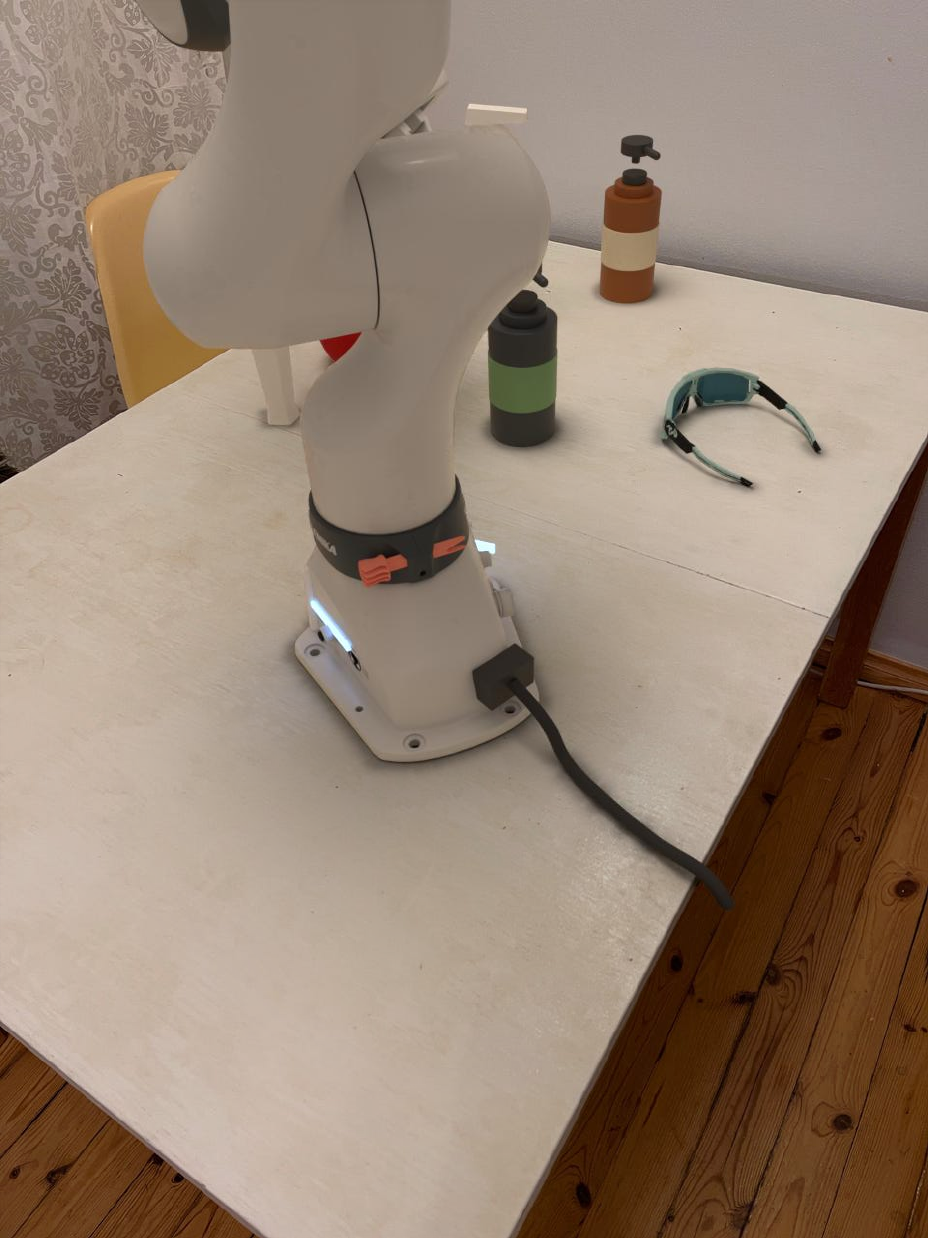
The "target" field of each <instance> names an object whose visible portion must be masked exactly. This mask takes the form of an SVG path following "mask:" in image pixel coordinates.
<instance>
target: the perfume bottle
mask: <svg viewBox="0 0 928 1238" xmlns="http://www.w3.org/2000/svg"><path fill="white" fill-rule="evenodd" d="M251 352H252V356H253V359H254V364H255V367H256V370H257V375H258V378H259V381H260V384H261V388H262V392H263V396H264V399H265V403H266V406H267V407H266V418H267V424H268V425H270V426H290V425H292V424H293V423H294V422H295V421H296V420H297V419H298V418H300V414H301V411H300V410H299V408H298V406H297V404H296V402H295V392H294V384H293V383H294V382H293V372H292V371H293V370H292V363H291V352H290V346H288V347H283V348H278V349H251Z"/></svg>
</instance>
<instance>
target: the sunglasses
mask: <svg viewBox="0 0 928 1238" xmlns="http://www.w3.org/2000/svg"><path fill="white" fill-rule="evenodd" d="M759 379H760V376H758V375H756V374H754V373H752V372H749V371H745V370H741V369H736V368H731V367H730V368H729V367H715V366H714V367H708V368H706V367H703V368H700V369H697V370H696V369H695V370H693V371H691V372H688V373H687V374H685V375H683V376H682V377H681V379H680V380H678V382H676V384H675V385H674V387H673V388H672V389H671V391H670V392H669V395H668V397H667V401H666V404H665V405H666V406H665V413H664V419H663V425H662V431H661V436H660V439H661V440H668V438H669V439H670V441H672V443H674V444H675V445H676V446H677V447H678V448H679V449H680V450H681V451H683V452H684V454H685V455H688V454H692V455H694V457H695V458H696V459H697V460H698V461H699V462H700V463H702V464H703V465H705V466H706V467H707V468H709V469H711V470H712V471H714V472H716V473H717V474H719V475H721V476H723V477H726V478H727V479H730V480H732V481H735V482H737V483H739V484H741V485H743V486H745V487H747V488H749V487H751V486H753V485H754V482H753V481H750V480H749V479H747V478H745V477H743V476H741V475H739V474H736V473H734V472H732V471H730V470H728V469H726V468H725V467H722V466H721V465H719V464H717V463H716V462H715V461H713V460H711V459H710V458H708V457H707V456H706V455H705V454H703V453H702V452H701V451H700V450H699V448H698V446H697V445H695V444H694V443H692V442H691V441H690V440H689V439H688V438H687V437H686V436H685V435H684V434H683V433H682V432H681V431H680V430H679V429H678V428H677V427H676V426H677V424H676V423H675V421H676V419H677V417H678V415H679V414H681V415H685V414H687V413H688V410H689V406H690V398H691V397H692V399H693V402H694V403H695V405H696V407H697V408H698V407H699V408H701V407H702V406H704V407H707V408H708V407H714V406H721V405H745V404H747V403H748V402H751V400H752V399H753V398H754V396H755V395H758V396H760V397H762V398H764V399H765V401H767V402H768V403H770V404H771V405H772V406H773V407H775V408H776V409H778V410H779V411H781V410H783V411H785V412H786V413H788V414H789V415H791V416H792V417H793V418H794V419H795V420H796V421H797V423H798V424H799V425H800V426H801V428H802V429H803V431H804V432H805V434H806V436H807V437H808V440H809V442H810V444H811V446H812V448H813V450H814V451H815V453H818V452H820V451H822V447H820V445H819V443H818V442H817V440H816V437H815V433H814V432H813V430H812V428H811V427H810V425H809V424H808V422H807V421H806V419H805V417H804V416H803V415H802V414H801V413H800V412H799V411H798V409H797V408H796V407H794V406H793V405H792V404H790V403H789V402H788V401H786V400H785V399H784V398H783V397H782V396H781V395H779V394H778V393H777V392H776V391H775V390H774V389H773V388H771V387H770V386H769V385H767V384H766V383H765V382H763V381H762V380H759Z"/></svg>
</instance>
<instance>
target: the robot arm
mask: <svg viewBox="0 0 928 1238" xmlns="http://www.w3.org/2000/svg"><path fill="white" fill-rule="evenodd" d="M134 1H135V3H136V5H137V6H138V8H139V9H140V11H141V12H142V14H143V15H144V17H145V18H146V19H147V20H148V22H149V23H150V24H151V25H152V27H153V28H154V29H155V30H156V31H157V32H158V33H159V34H160V35H161V36H162V37H163V38H164V39H166V41H168V42H169V43H171V44H172V45H174V46H176V47H177V48H182V49H186V50H191V51H195V52H211V53H218V52H219V53H221V52H222V53H223V52H225V51H226V50H227V49H228V48H229V46H230V60H229V61H230V63H229V69H228V77H227V83H226V87H225V90H224V95H223V98H222V100H221V104H220V107H219V110H218V113H217V116H216V117H215V120H214V121H213V124H212V126H211V128H210V130H209V132H208V134H207V136H206V137H205V140H204V141H203V143H202V144H201V146H200V147H199V149H198V150H197V152H196V153H195V155H194V156H193V157H192V158H191V159H190V160H189V162H188V163H187V164H186V166H185V167H184V168H183V169H182V170H181V171H180V172H179V173H178V174H177V175H176V176H175V177H174V178H173V179H172V180H170V181H169V182H168V183H167V184H165V185H164V186H163V187H162V188H161V190H160V191H159V192H158V194H157V196H155V197H156V198H155V199H154V201H153V203H152V205H151V207H150V210H149V213H148V215H147V218H146V222H145V226H144V227H145V228H144V232H143V242H142V255H143V265H144V269H145V270H144V271H145V274H146V279H147V281H148V284H149V287H150V290H151V292H152V295H153V297H154V299H155V301H156V302H157V304H158V306H159V308H160V310H161V311H162V312H163V314H164V315H165V316H166V318H167V319H168V320H169V322H170V323H171V324H172V325H173V326H174V327H175V328H176V329H177V331H179V332H180V333H181V334H182V335H183V336H184V337H186V338H187V339H188V340H190V341H191V342H193V343H194V344H195V345H197V346H199V347H200V348H202V349H208V350H209V349H210V350H211V349H212V350H213V349H216V350H252V349H278V348H283V347H288V346H289V347H292V346H297V345H298V346H299V345H303V344H307V343H312V342H317V341H319V340H323V339H328V338H333V337H338V336H343V335H348V334H353V333H358V332H362V333H361V335H360V336H359V338H358V339H357V341H356V342H355V344H354V345H353V346H352V347H351V348H350V349H349V350H348V352H346V353H345V354H344V355H343V356H342V357H341V358H339V359H338V360H337V361H336V362H335V361H333V363H332V364H330V365H329V366H328V367H326V369H324V371H322V372H321V373H320V374H319V375H318V376H317V377H316V379H315V380H314V381H313V383H312V384H311V386H310V388H309V389H308V392H307V394H306V396H305V398H304V400H303V403H302V406H301V410H300V416H299V424H298V425H299V431H300V436H301V441H302V447H303V452H304V458H305V464H306V468H307V474H308V479H309V486H310V490H309V493H308V521H309V524H310V529H311V531H312V535H313V539H314V543H315V545H314V548H313V550H312V552H311V554H310V556H309V558H308V560H307V561H306V563H305V564H304V567H303V569H302V570H301V575H302V582H303V590H304V597H305V604H306V610H307V615H308V616H307V617H308V624H309V626H308V627H307V628H306V629H305V630H304V631H303V632H301V634H300V635H299V636H298V637H297V639H296V640H295V643H294V654H295V656H296V659H298V661H299V662H300V663H301V665H302V666H303V667H304V668H305V670H306V671H307V672H308V674H309V675H310V676H311V677H312V678H313V680H314V681H315V683H316V684H317V685H318V686H319V687H320V688H321V690H322V691H323V692H324V693H325V694H326V696H327V698H328V699H329V700H330V701H331V702H332V703H333V705H334V706H335V707H336V708H337V709H338V711H339V712H340V713H341V715H342V716H343V717H344V718H345V720H346V721H347V722H348V724H349V725H350V726H351V727H352V728H353V729H354V731H355V733H357V735H358V737H360V738H361V740H362V741H363V742H364V743H365V744H366V746H367V747H368V748H369V750H370V751H371V752H372V753H373V754H374V755H375V756H376V757H377V758H378V759H380V760H381V761H385V762H386V761H387V762H399V763H404V762H405V763H408V762H409V763H410V762H420V761H427V760H432V759H439V758H442V757H445V756H449V755H454V754H456V753H459V752H462V751H465V750H468V749H471V748H474V747H476V746H479V745H480V744H483V743H486V742H489V741H491V740H493V739H495V738H497V737H499V736H502V735H503V734H504V733H507V732H509V731H510V730H512V729H513V728H515V727H517V726H518V725H519V724H521V723H522V722H523V721H524V720H525V719H527V718H528V717H529V716H530V715H532V717H533V718H534V719H535V720H536V722H537V723H538V724H539V726H540V727H541V729H542V730H543V732H544V733H545V735H546V737H547V739H548V741H549V744H550V746H551V749H552V751H553V752H554V756H555V757H556V758H557V760H558V762H559V763H560V765H561V766H562V767H563V769H564V771H566V773H567V774H568V775H569V776H570V778H571V779H572V780H573V781H574V782H575V784H576V785H578V787H580V788H581V789H582V790H583V791H584V792H585V793H586V794H587V795H588V796H589V797H590V798H591V799H592V800H593V801H595V803H597V804H598V806H600V807H601V808H602V809H603V810H605V811H606V812H607V813H608V814H609V815H610V816H611V817H613V818H614V820H616V821H617V822H618V823H619V824H621V825H622V826H623V827H625V828H626V829H627V830H628V831H629V832H631V833H633V835H635V836H636V837H637V838H638V839H639V840H641V841H642V842H643V843H644V844H646V845H647V846H649V848H651V849H652V850H654V851H655V852H657V854H659V855H661V856H662V857H664V858H666V859H668V860H669V861H671V862H673V863H674V864H676V865H677V866H679V867H681V868H682V869H685V870H686V871H687V872H689V873H691V874H692V875H693V876H694V877H696V878H697V879H698V880H699V881H700V882H702V883H703V884H704V885H705V887H706V888H707V889H708V890H709V892H710V893H711V894H712V896H713V897H714V898H715V901H716V903H717V904H718V905H719V906H720V907H721V908H722V909H723V910H725V911H726V910H727V911H732V910H734V908H735V902H734V900H733V898H732V896H731V894H730V892H729V891H728V889H727V888H726V886H725V885H724V883H723V882H722V881H721V879H719V877H718V876H717V875H716V874H715V873H714V872H713V871H712V870H711V869H710V868H709V867H707V866H706V865H705V864H704V863H703V862H702V861H699V860H698V859H697V858H695V857H694V856H692V855H690V854H688V853H687V852H685V851H683V850H682V849H680V848H678V847H676V846H675V845H673V844H671V843H669V842H668V841H667V840H665V839H664V838H662V837H661V836H660V835H658V834H657V833H656V832H654V831H653V830H652V829H651V828H650V827H648V826H647V825H645V824H644V823H643V822H641V820H639V819H638V818H636V817H635V816H634V815H633V814H631V813H630V812H628V811H627V809H625V808H624V807H623V806H622V805H620V804H619V803H618V802H617V801H616V800H614V798H613V797H612V796H610V795H609V794H608V793H607V792H606V791H605V790H603V789H602V788H601V787H600V786H599V785H598V784H597V783H596V782H595V781H594V780H593V779H591V777H589V776H588V775H587V773H586V772H585V771H584V770H583V769H582V768H581V767H580V765H579V764H578V763H577V762H576V761H575V759H574V758H573V756H572V754H571V753H570V752H569V750H568V748H567V746H566V744H565V742H564V739H563V738H562V735H561V733H560V730H559V729H558V727H557V725H556V723H555V722H554V720H553V718H552V717H551V716H550V715H549V713H548V712H547V711H546V710H545V708H544V707H543V706H542V705H541V703H540V694H539V690H538V687H537V683H536V681H535V678H534V677H535V657H534V656H533V655H532V654H531V653H529V652H528V651H526V650H525V649H524V648H523V645H522V643H521V641H520V638H519V635H518V633H517V630H516V626H515V624H514V621H513V618H512V617H513V616H515V614H516V606H515V600H514V597H513V593H512V591H511V589H510V588H507V587H506V588H501V587H500V584H499V583H498V581H497V580H495V579H493V578H491V577H488V575H487V572H486V570H485V569H487V568H491V567H492V565H493V560H492V554H495V553H496V543H491V542H487V541H483V540H479V539H475V535H474V533H473V521H472V519H471V518H468V513H467V512H468V511H467V505H466V500H465V497H464V493H463V491H462V487H461V483H460V480H459V477H458V476H457V473H456V467H455V466H456V465H455V463H456V462H455V424H456V423H455V422H456V408H457V407H456V406H457V405H456V404H457V399H458V395H459V390H460V386H461V383H462V380H463V378H464V374H465V371H466V369H467V366H468V365H469V362H470V360H471V358H472V356H473V354H474V352H475V350H476V348H477V346H478V345H479V343H480V342H481V340H482V337H483V336H484V335H485V333H486V331H488V327H489V326H490V324H491V323H492V322H493V320H494V319H495V318H496V316H497V315H498V314H499V313H500V312H501V310H502V309H503V308H504V307H505V306H506V305H507V304H508V303H509V302H510V301H511V300H512V299H513V298H514V297H515V296H516V295H517V294H518V293H519V292H520V291H522V290H525V288H527V286H528V285H530V284H531V282H532V281H533V280H532V279H533V278H534V276H535V275H536V273H537V271H538V269H539V267H540V265H541V263H542V264H543V262H544V258H545V255H546V253H547V250H548V246H549V240H550V234H551V223H552V222H551V221H552V220H551V219H552V218H551V205H550V199H549V195H548V190H547V186H546V183H545V181H544V179H543V176H542V175H541V173H540V170H539V168H538V167H537V165H536V163H535V162H534V160H533V159H532V157H531V156H530V155H529V154H528V152H527V151H526V150H525V149H524V148H523V147H522V146H521V145H520V143H519V144H518V143H517V142H516V141H515V140H514V139H512V138H511V137H509V136H506V135H497V134H493V133H487V132H486V133H477V132H470V131H461V130H460V131H458V130H443V129H442V130H441V129H440V130H439V129H437V130H433V127H432V124H431V122H430V120H429V117H428V116H427V115H426V114H425V113H424V112H425V111H426V110H427V109H429V108H430V107H431V106H432V105H434V103H435V102H436V101H437V100H438V99H439V97H440V96H441V95H442V94H443V93H444V91H445V90H446V89H447V87H448V86H449V84H450V81H449V77H448V74H447V71H446V69H445V67H444V65H445V63H446V61H447V57H448V54H449V50H450V44H451V21H452V0H134ZM509 712H510V713H509ZM415 746H418V747H415Z"/></svg>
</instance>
